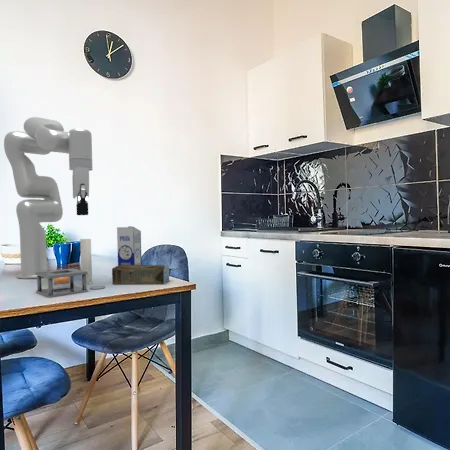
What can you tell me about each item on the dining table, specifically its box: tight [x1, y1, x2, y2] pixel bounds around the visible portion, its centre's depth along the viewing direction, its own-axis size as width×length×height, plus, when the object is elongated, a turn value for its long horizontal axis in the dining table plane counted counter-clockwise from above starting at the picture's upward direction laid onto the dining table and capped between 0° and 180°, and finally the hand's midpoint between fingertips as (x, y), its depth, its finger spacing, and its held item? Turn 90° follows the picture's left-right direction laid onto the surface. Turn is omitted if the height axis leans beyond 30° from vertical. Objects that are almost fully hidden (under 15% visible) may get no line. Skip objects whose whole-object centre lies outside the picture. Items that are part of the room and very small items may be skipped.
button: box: [53, 276, 70, 285], centre depth 122 cm, size 4×4×2 cm
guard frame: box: [35, 267, 89, 298], centre depth 122 cm, size 12×12×6 cm
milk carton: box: [116, 225, 143, 266], centre depth 150 cm, size 7×7×20 cm
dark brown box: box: [111, 264, 170, 285], centre depth 137 cm, size 8×19×7 cm, turn 85°
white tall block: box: [79, 238, 93, 285], centre depth 137 cm, size 4×4×16 cm
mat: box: [89, 285, 106, 291], centre depth 127 cm, size 5×5×1 cm
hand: (82, 215), depth 132 cm, fingers open, 9 cm apart
